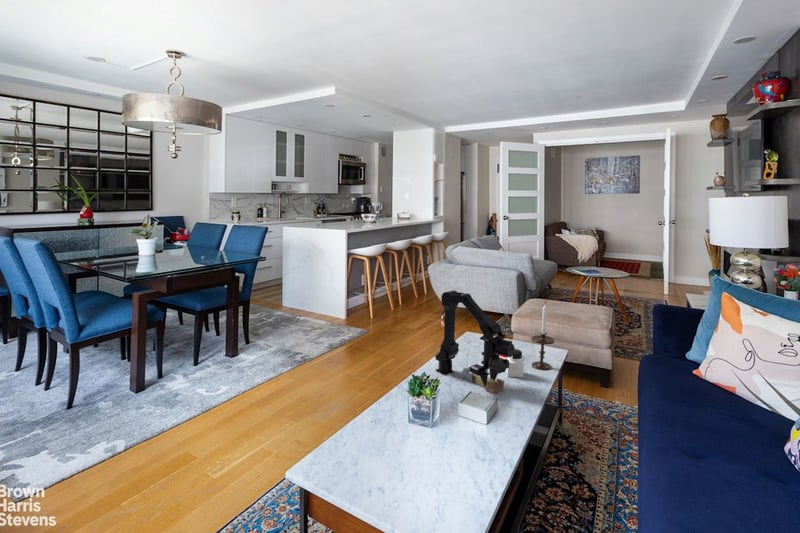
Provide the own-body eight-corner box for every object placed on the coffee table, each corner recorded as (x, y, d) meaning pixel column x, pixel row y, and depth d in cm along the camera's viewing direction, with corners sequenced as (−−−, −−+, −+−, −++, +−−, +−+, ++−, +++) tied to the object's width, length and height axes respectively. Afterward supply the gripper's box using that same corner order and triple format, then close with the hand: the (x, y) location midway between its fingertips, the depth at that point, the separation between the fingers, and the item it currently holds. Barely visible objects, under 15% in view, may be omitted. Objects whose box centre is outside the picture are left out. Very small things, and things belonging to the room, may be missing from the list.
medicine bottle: (520, 371, 211) (521, 348, 209) (523, 377, 204) (524, 353, 202) (505, 371, 212) (506, 347, 210) (507, 377, 205) (508, 352, 203)
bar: (471, 380, 199) (471, 374, 199) (477, 378, 201) (478, 372, 201) (491, 391, 188) (492, 384, 188) (498, 389, 191) (498, 382, 190)
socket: (486, 391, 189) (486, 381, 189) (497, 387, 193) (498, 378, 192) (491, 394, 186) (492, 384, 186) (503, 390, 190) (504, 381, 190)
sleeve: (462, 378, 202) (463, 368, 202) (473, 375, 206) (473, 365, 205) (471, 383, 197) (471, 373, 197) (482, 380, 201) (482, 370, 200)
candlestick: (555, 371, 213) (560, 300, 207) (533, 370, 213) (537, 300, 208) (548, 362, 223) (553, 295, 218) (527, 362, 224) (531, 295, 218)
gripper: (487, 360, 179) (486, 396, 181) (519, 352, 189) (517, 386, 191) (469, 352, 188) (468, 387, 190) (500, 345, 198) (498, 378, 200)
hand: (488, 384), depth 193 cm, fingers closed on bar, 4 cm apart
